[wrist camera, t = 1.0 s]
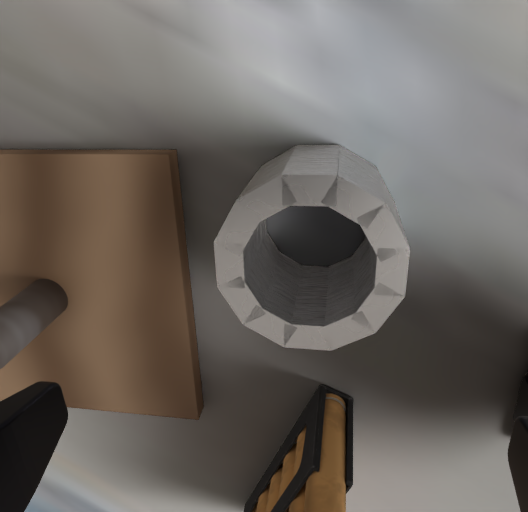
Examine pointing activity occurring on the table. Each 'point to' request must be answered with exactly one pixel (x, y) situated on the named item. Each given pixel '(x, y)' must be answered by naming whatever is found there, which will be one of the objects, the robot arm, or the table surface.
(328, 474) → the ammunition clip
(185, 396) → the post base
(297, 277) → the tube
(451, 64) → the table surface
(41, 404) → the robot arm
